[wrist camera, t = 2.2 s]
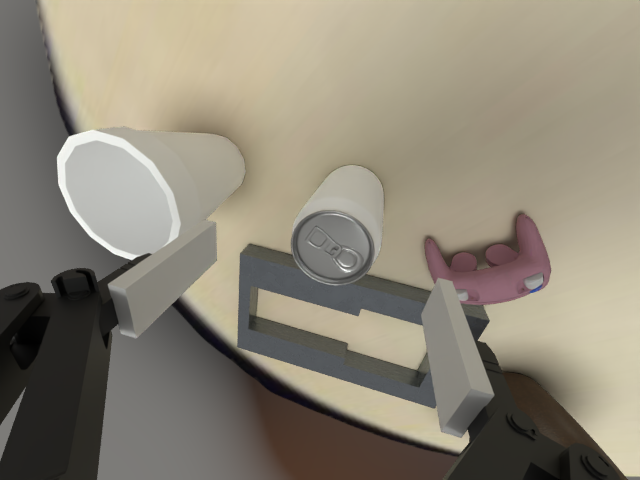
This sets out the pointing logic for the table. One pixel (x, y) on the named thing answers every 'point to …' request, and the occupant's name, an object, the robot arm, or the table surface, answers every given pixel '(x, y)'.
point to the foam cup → (145, 184)
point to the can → (340, 227)
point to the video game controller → (496, 268)
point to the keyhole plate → (365, 293)
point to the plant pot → (550, 415)
